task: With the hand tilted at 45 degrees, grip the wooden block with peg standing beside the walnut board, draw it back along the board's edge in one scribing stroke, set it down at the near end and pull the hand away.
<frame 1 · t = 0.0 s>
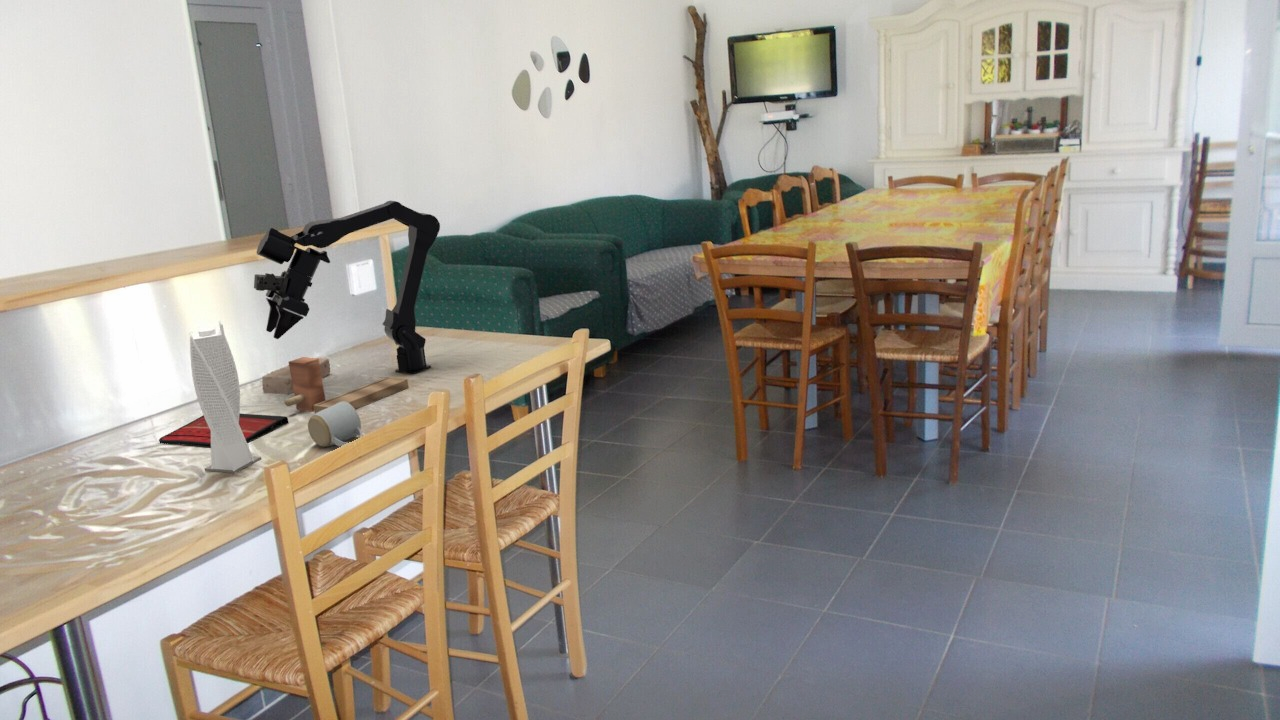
hand: (271, 334, 215), 15 cm above the table, fingers open, 9 cm apart
skyscraper: (234, 467, 176), on the table
binder: (223, 436, 196), on the table
ceramic mug: (342, 443, 184), on the table
brick: (298, 385, 229), on the table
board: (363, 400, 211), on the table
wooden block with peg: (311, 407, 209), on the table
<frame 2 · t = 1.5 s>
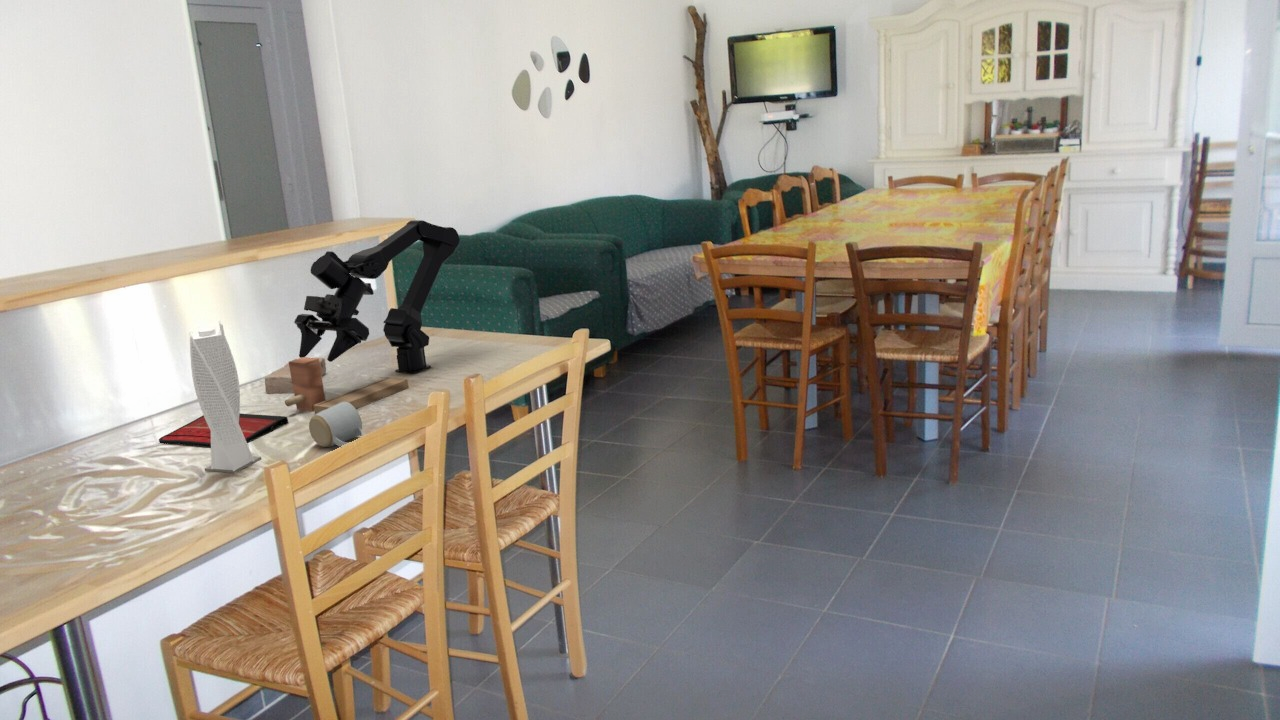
hand: (314, 359, 208), 10 cm above the table, fingers open, 9 cm apart
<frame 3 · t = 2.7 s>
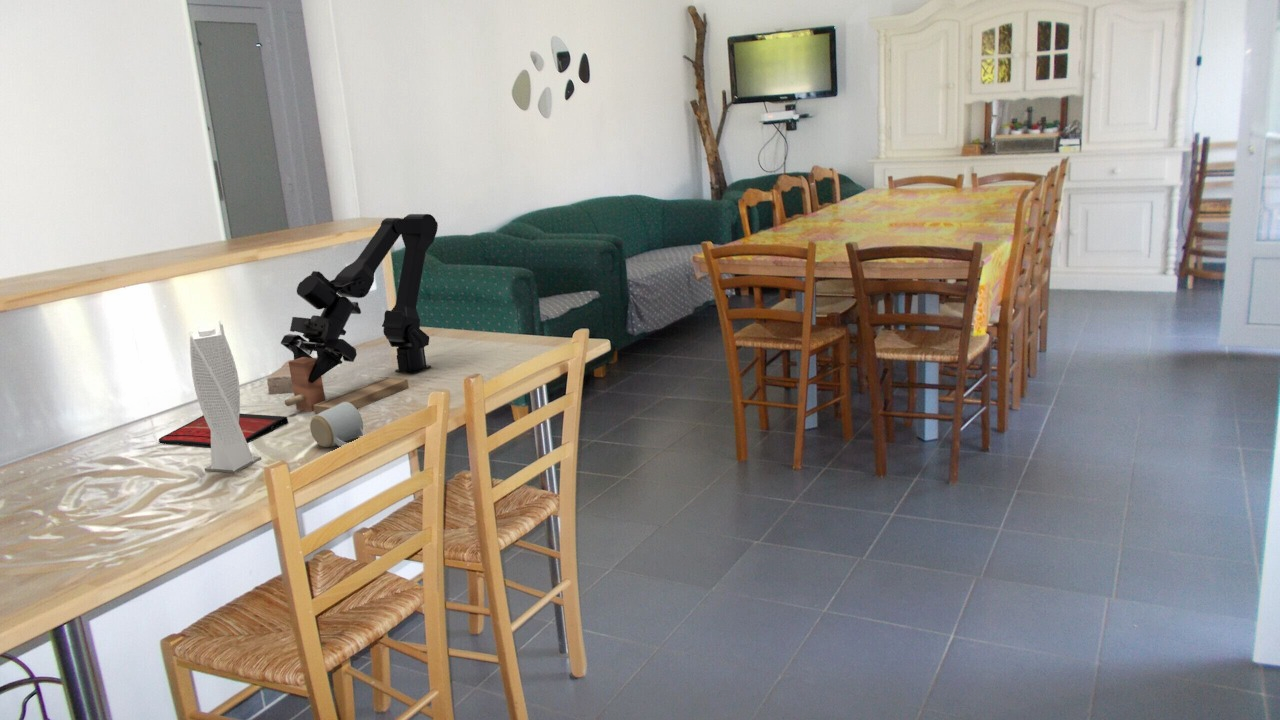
hand: (301, 381, 206), 7 cm above the table, fingers closed on wooden block with peg, 5 cm apart
wooden block with peg: (311, 407, 208), on the table, touching gripper
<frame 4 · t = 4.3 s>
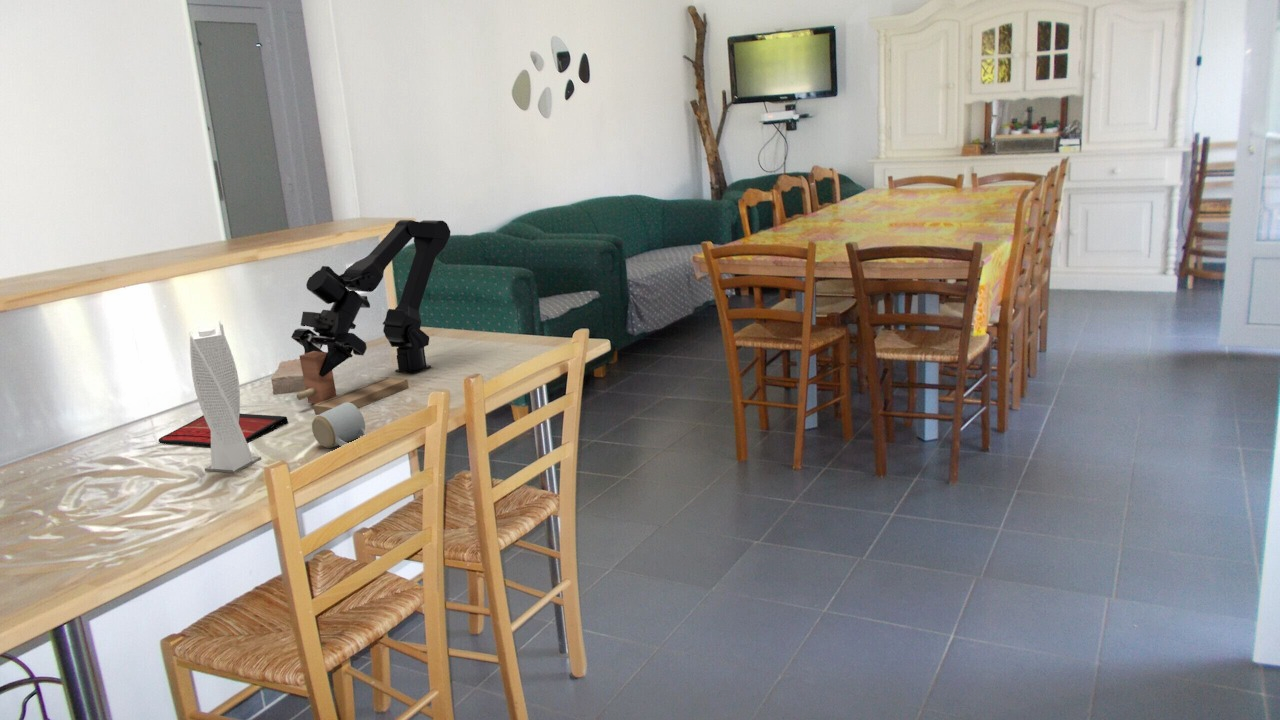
hand: (312, 374, 208), 7 cm above the table, fingers closed on wooden block with peg, 5 cm apart
wooden block with peg: (322, 401, 211), point 1 cm above the table, touching gripper
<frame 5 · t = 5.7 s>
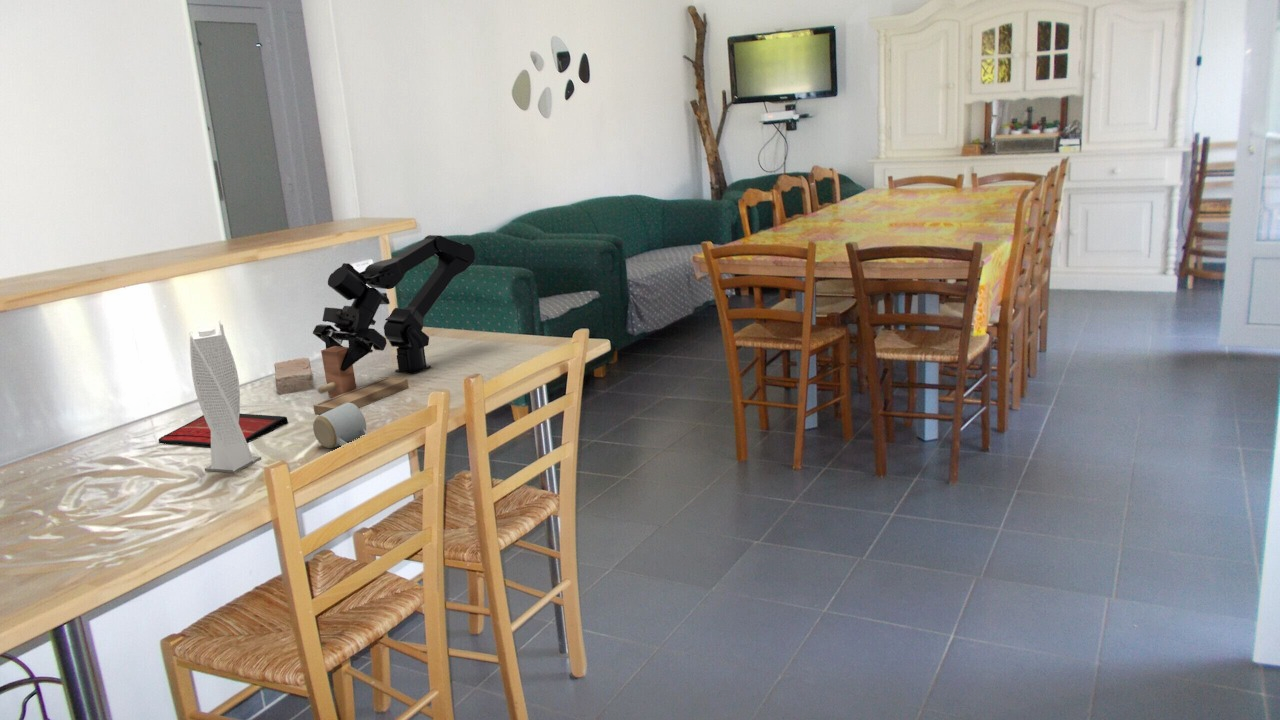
hand: (333, 369, 213), 7 cm above the table, fingers closed on wooden block with peg, 5 cm apart
wooden block with peg: (343, 394, 216), on the table, touching gripper
when the fingers open (7 cm above the table, at t = 6.1 s): wooden block with peg stays where it is, on the table.
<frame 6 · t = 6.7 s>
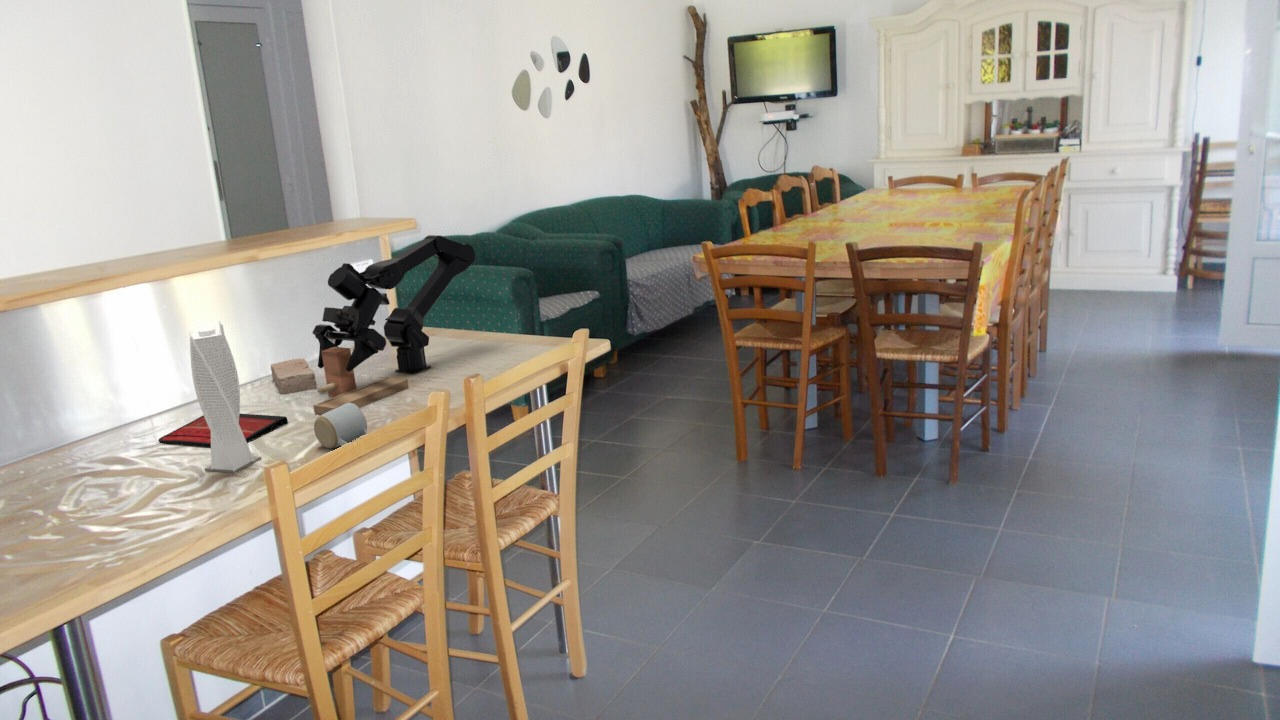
hand: (333, 369, 213), 7 cm above the table, fingers open, 9 cm apart
wooden block with peg: (343, 395, 216), on the table
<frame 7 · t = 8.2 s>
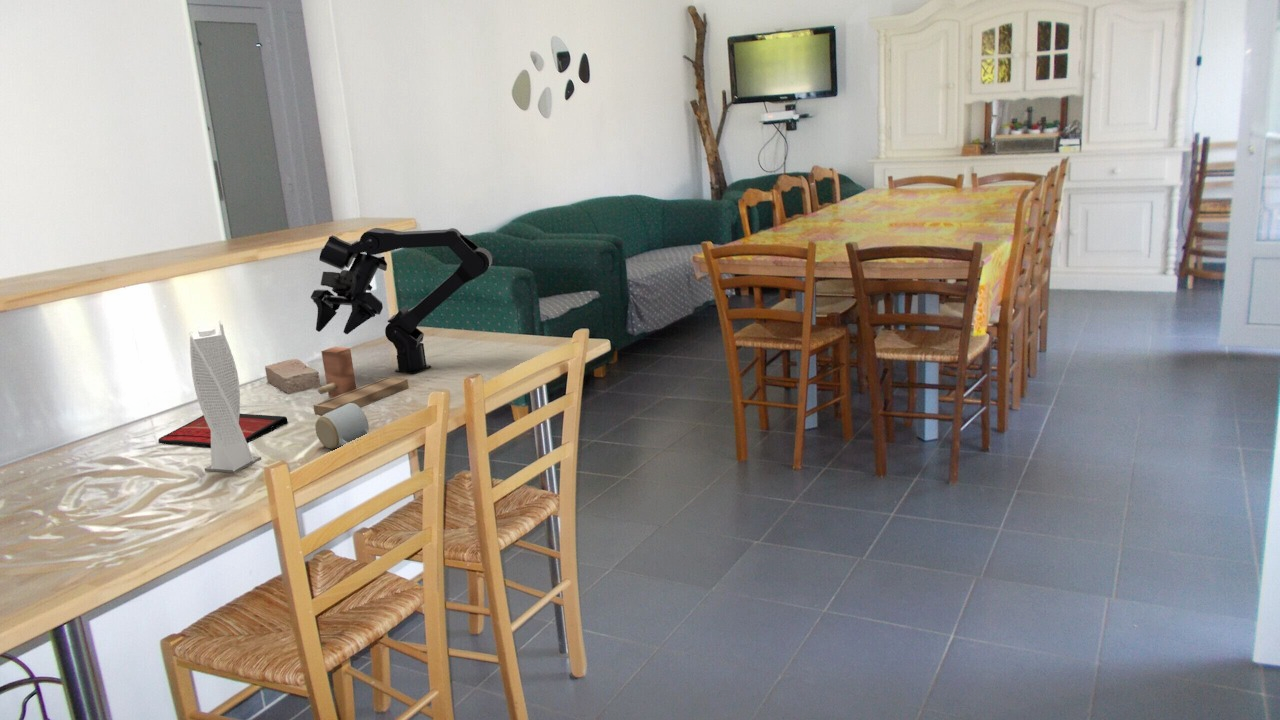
hand: (331, 332, 219), 14 cm above the table, fingers open, 9 cm apart
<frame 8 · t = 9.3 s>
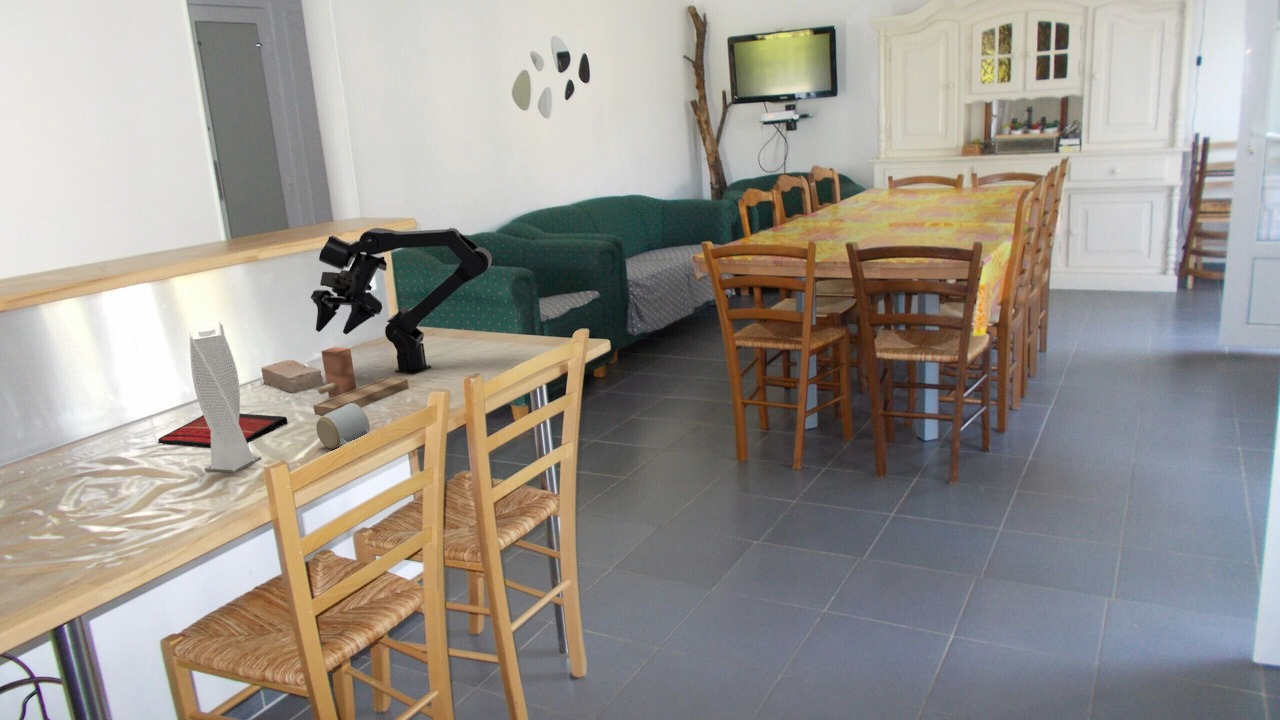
hand: (330, 332, 219), 14 cm above the table, fingers open, 9 cm apart
at the end: wooden block with peg inside the target area (0.1 cm from its centre), on the table; wooden block with peg tilted 0°; the gripper is holding nothing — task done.
